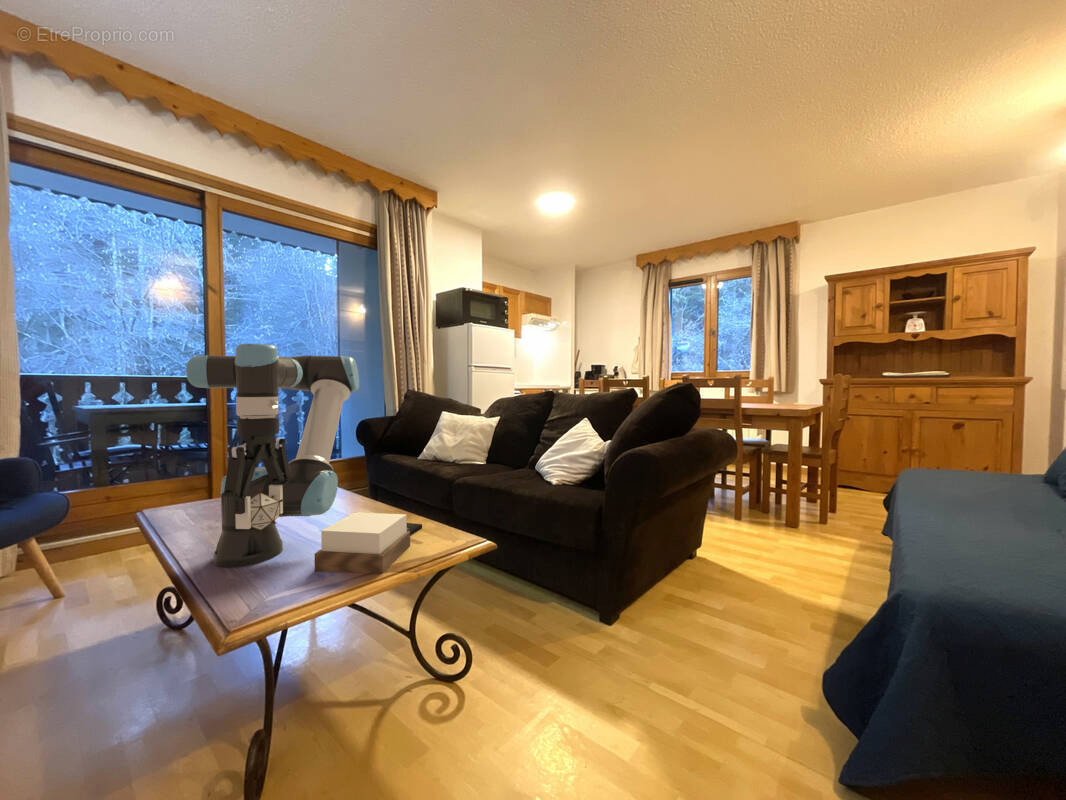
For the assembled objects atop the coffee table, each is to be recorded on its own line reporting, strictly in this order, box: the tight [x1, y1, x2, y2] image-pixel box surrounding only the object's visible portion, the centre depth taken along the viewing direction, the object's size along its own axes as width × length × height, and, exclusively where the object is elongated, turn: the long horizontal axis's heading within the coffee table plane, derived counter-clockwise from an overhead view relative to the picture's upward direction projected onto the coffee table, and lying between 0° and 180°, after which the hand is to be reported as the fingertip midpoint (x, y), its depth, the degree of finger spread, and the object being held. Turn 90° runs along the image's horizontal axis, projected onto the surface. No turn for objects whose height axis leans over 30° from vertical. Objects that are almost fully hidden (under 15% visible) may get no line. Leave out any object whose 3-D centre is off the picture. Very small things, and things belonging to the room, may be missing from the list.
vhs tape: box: [406, 522, 423, 537], centre depth 124 cm, size 8×14×2 cm, turn 166°
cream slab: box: [320, 511, 407, 554], centre depth 107 cm, size 15×15×5 cm
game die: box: [250, 489, 284, 533], centre depth 89 cm, size 9×8×10 cm
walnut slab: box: [314, 531, 411, 574], centre depth 107 cm, size 17×17×5 cm
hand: (260, 520), depth 89 cm, fingers closed on game die, 9 cm apart
